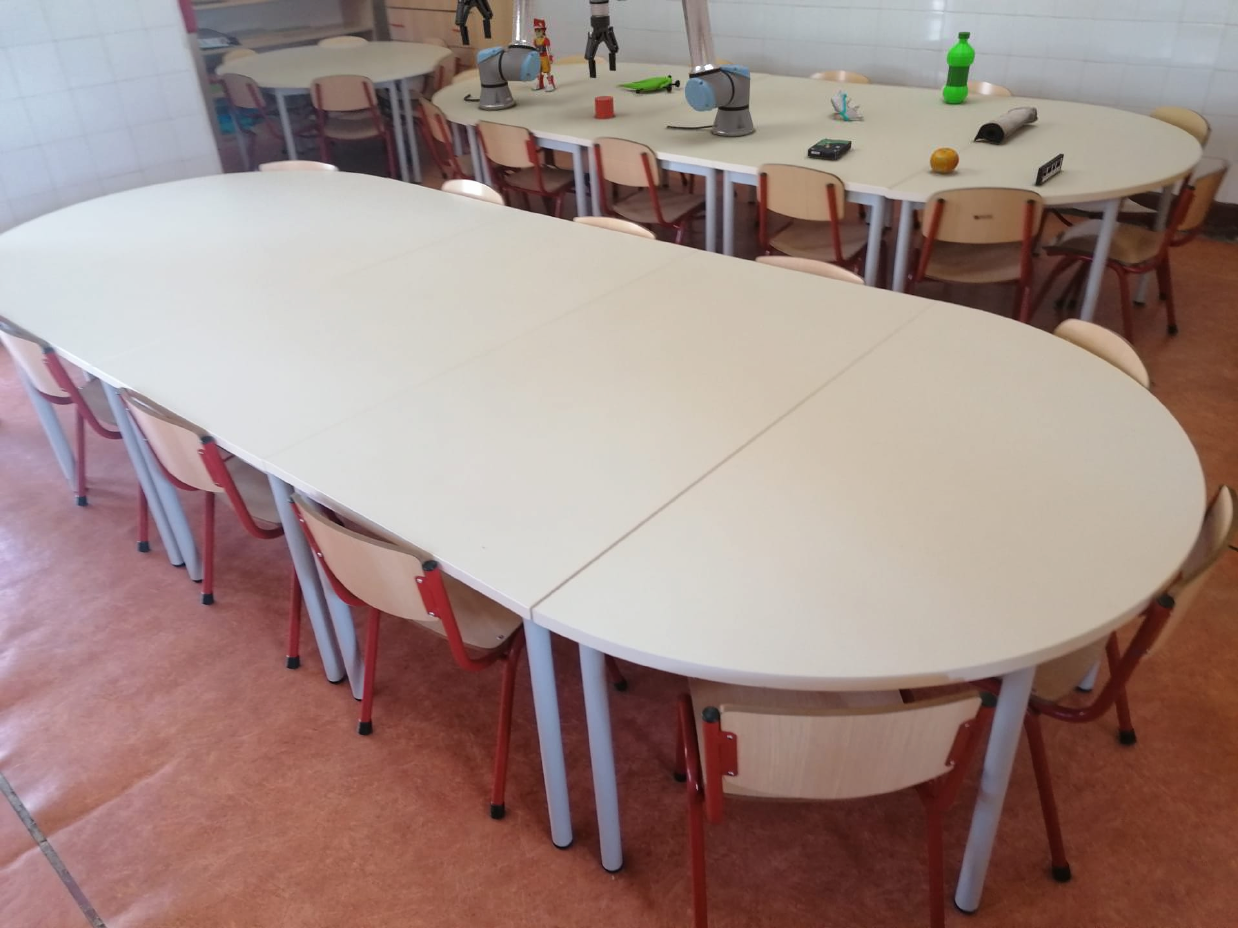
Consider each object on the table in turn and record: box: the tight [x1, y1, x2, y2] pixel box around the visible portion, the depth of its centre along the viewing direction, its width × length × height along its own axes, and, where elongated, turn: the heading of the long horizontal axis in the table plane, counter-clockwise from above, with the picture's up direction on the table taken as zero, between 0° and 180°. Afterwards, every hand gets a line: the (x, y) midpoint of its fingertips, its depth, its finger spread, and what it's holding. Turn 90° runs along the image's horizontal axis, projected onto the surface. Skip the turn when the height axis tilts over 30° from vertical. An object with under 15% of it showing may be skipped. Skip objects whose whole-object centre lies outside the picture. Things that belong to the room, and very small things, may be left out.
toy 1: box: [532, 17, 556, 92], centre depth 403 cm, size 12×9×30 cm
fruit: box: [929, 147, 960, 174], centre depth 283 cm, size 8×8×8 cm
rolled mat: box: [973, 106, 1039, 145], centre depth 314 cm, size 30×9×10 cm
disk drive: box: [807, 138, 852, 160], centre depth 306 cm, size 10×3×15 cm
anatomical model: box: [830, 89, 864, 121], centre depth 343 cm, size 15×10×10 cm
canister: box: [594, 95, 615, 120], centre depth 363 cm, size 8×8×7 cm
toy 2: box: [617, 74, 681, 95], centre depth 401 cm, size 28×5×30 cm
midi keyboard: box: [1035, 153, 1065, 186], centre depth 273 cm, size 18×1×5 cm, turn 138°
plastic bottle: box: [942, 31, 976, 104], centre depth 348 cm, size 10×10×25 cm
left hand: (477, 42), depth 342 cm, fingers open, 13 cm apart
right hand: (603, 74), depth 356 cm, fingers open, 13 cm apart
